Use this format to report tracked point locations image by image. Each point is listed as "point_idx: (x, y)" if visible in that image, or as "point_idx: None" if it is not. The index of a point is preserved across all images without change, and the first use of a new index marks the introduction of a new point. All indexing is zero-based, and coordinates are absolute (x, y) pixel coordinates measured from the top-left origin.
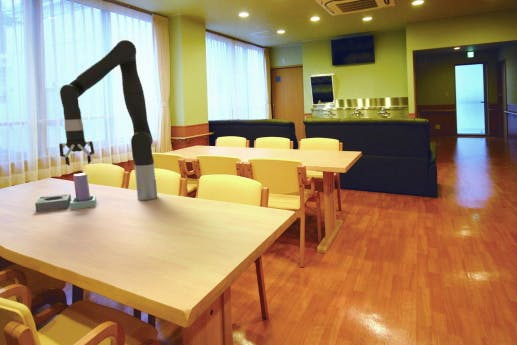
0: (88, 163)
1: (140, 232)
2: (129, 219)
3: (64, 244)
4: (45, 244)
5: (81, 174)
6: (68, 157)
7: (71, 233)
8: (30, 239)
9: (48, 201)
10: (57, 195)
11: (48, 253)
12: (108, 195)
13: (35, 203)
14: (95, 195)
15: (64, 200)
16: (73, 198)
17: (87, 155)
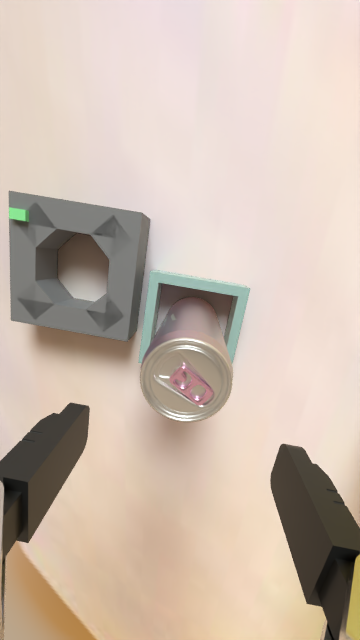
0: (275, 483)
1: (267, 632)
2: (277, 552)
3: (127, 604)
4: (94, 586)
5: (194, 386)
6: (28, 525)
7: (140, 561)
8: (62, 546)
9: (57, 318)
10: (83, 211)
11: (102, 623)
12: (318, 198)
13: (12, 320)
14: (248, 291)
15: (117, 339)
16: (154, 287)
17: (334, 544)
